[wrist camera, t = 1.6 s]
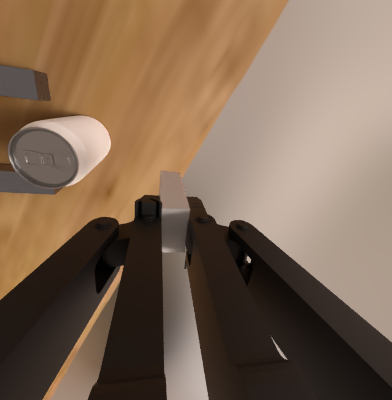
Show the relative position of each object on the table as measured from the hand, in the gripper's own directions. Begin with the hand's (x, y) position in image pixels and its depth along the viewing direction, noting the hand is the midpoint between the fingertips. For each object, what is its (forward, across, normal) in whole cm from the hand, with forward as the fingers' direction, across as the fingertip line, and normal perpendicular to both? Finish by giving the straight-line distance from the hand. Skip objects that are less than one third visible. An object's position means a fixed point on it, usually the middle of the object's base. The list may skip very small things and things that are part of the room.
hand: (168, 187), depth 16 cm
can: (+17, -11, 0) cm, 20 cm away
